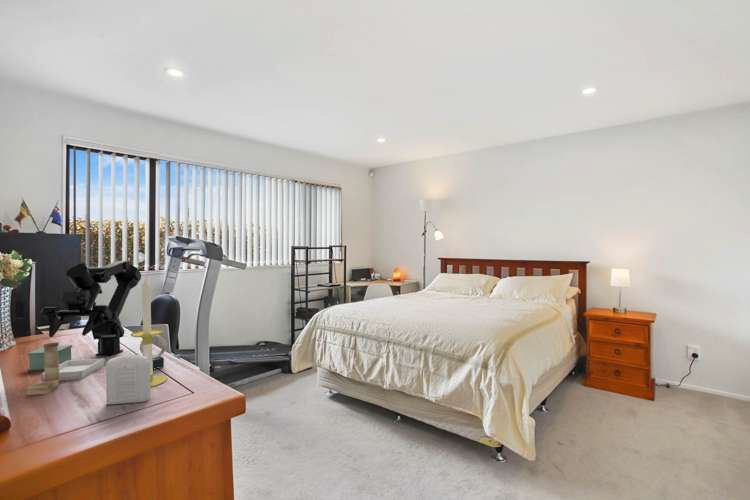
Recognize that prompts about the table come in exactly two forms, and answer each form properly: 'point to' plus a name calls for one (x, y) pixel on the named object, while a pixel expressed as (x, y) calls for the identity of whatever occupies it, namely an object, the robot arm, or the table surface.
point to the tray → (77, 369)
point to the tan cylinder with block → (48, 371)
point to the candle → (148, 332)
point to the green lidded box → (38, 357)
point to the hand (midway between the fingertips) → (66, 335)
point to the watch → (159, 360)
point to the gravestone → (128, 379)
